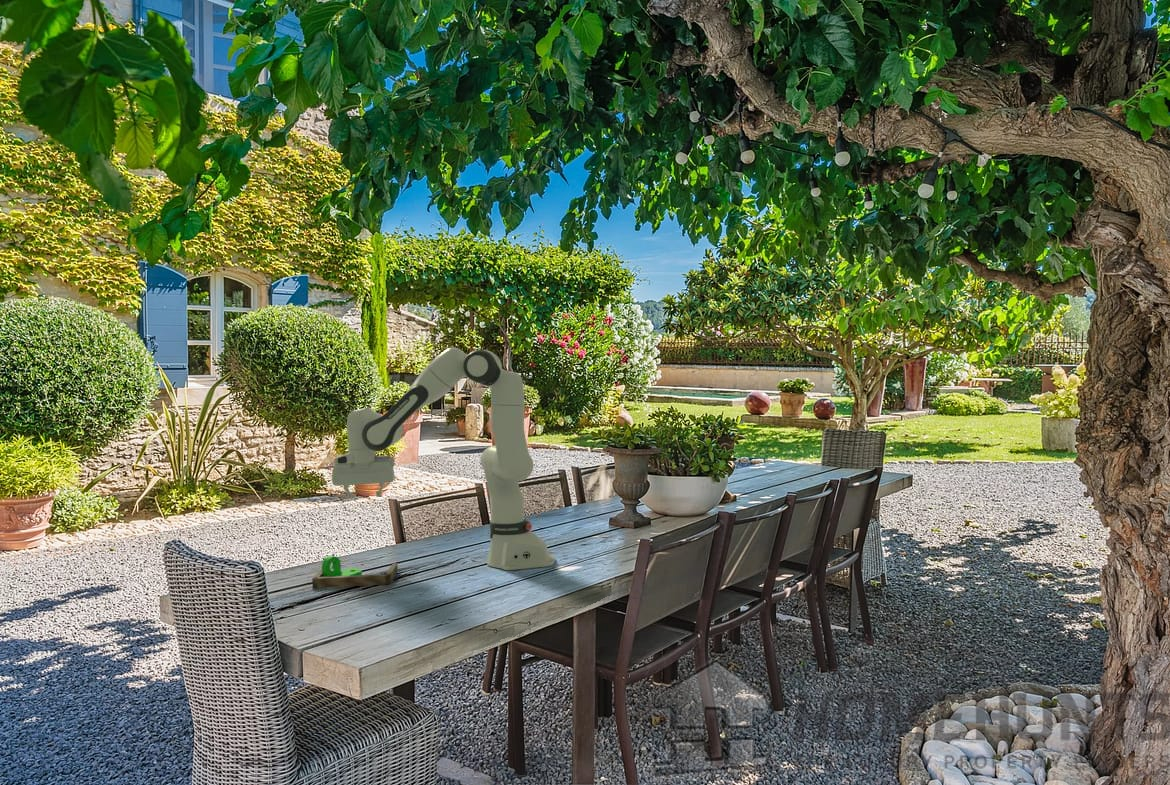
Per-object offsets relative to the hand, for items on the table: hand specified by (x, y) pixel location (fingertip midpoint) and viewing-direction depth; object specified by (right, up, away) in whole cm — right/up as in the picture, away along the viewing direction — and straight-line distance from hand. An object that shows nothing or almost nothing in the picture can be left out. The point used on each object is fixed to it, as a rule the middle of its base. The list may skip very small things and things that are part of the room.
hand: (364, 497), depth 255 cm
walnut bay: (+3, -23, -19) cm, 30 cm away
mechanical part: (-1, -24, -18) cm, 30 cm away
